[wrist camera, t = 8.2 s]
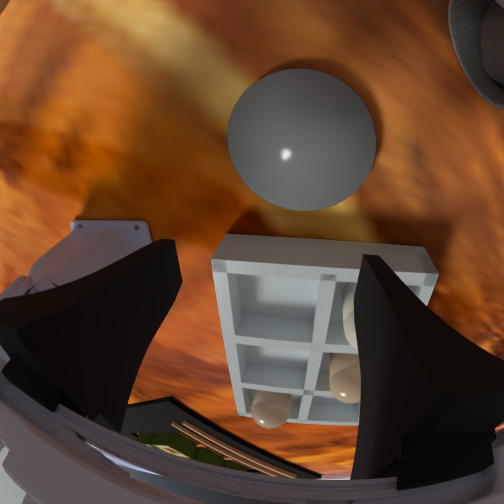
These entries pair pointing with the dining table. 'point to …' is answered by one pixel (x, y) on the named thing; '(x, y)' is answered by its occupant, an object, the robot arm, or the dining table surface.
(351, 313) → the cream egg
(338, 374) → the brown egg
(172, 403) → the sushi set
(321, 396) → the egg carton
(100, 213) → the dining table surface
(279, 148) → the grey round disc
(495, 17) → the ceramic mug
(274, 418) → the brown egg
